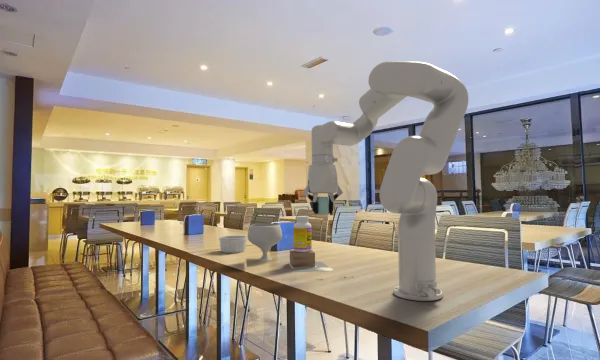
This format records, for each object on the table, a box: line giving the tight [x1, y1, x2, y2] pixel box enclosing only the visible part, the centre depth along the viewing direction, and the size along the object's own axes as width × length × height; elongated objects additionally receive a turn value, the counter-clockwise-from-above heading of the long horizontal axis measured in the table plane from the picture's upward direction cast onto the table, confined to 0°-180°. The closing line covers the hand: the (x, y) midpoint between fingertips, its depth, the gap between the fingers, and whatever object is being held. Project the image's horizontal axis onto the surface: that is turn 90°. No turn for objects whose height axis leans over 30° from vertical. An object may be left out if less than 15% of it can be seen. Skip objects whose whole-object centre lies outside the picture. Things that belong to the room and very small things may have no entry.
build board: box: [288, 261, 334, 273], centre depth 125 cm, size 17×14×1 cm
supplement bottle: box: [293, 215, 313, 252], centre depth 129 cm, size 7×7×13 cm
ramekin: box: [218, 235, 248, 254], centre depth 169 cm, size 13×13×7 cm
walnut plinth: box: [289, 249, 316, 268], centre depth 129 cm, size 8×8×5 cm
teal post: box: [317, 196, 330, 216], centre depth 122 cm, size 4×4×6 cm
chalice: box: [247, 223, 283, 262], centre depth 141 cm, size 14×14×15 cm
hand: (322, 213), depth 122 cm, fingers closed on teal post, 4 cm apart
